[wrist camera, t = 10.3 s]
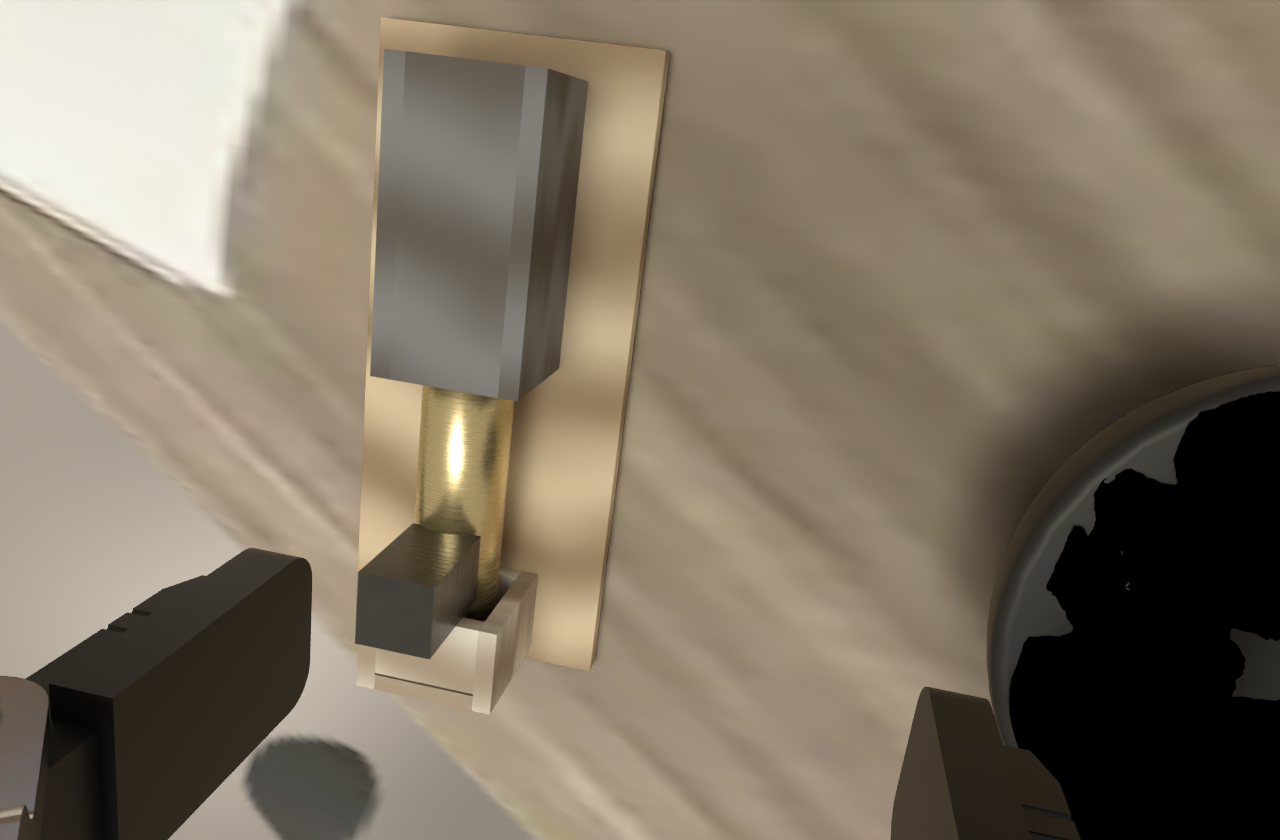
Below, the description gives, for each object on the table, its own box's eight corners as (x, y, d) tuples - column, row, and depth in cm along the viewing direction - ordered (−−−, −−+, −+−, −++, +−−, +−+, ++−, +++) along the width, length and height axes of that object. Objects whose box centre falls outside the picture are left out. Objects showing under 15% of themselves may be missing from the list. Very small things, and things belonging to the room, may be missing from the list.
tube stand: (391, 20, 40) (306, -7, 34) (669, 53, 39) (638, 31, 32) (364, 612, 48) (291, 684, 42) (594, 660, 47) (556, 744, 40)
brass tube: (450, 264, 40) (358, 290, 32) (536, 277, 40) (465, 307, 32) (426, 621, 45) (342, 720, 37) (503, 637, 45) (433, 741, 37)
